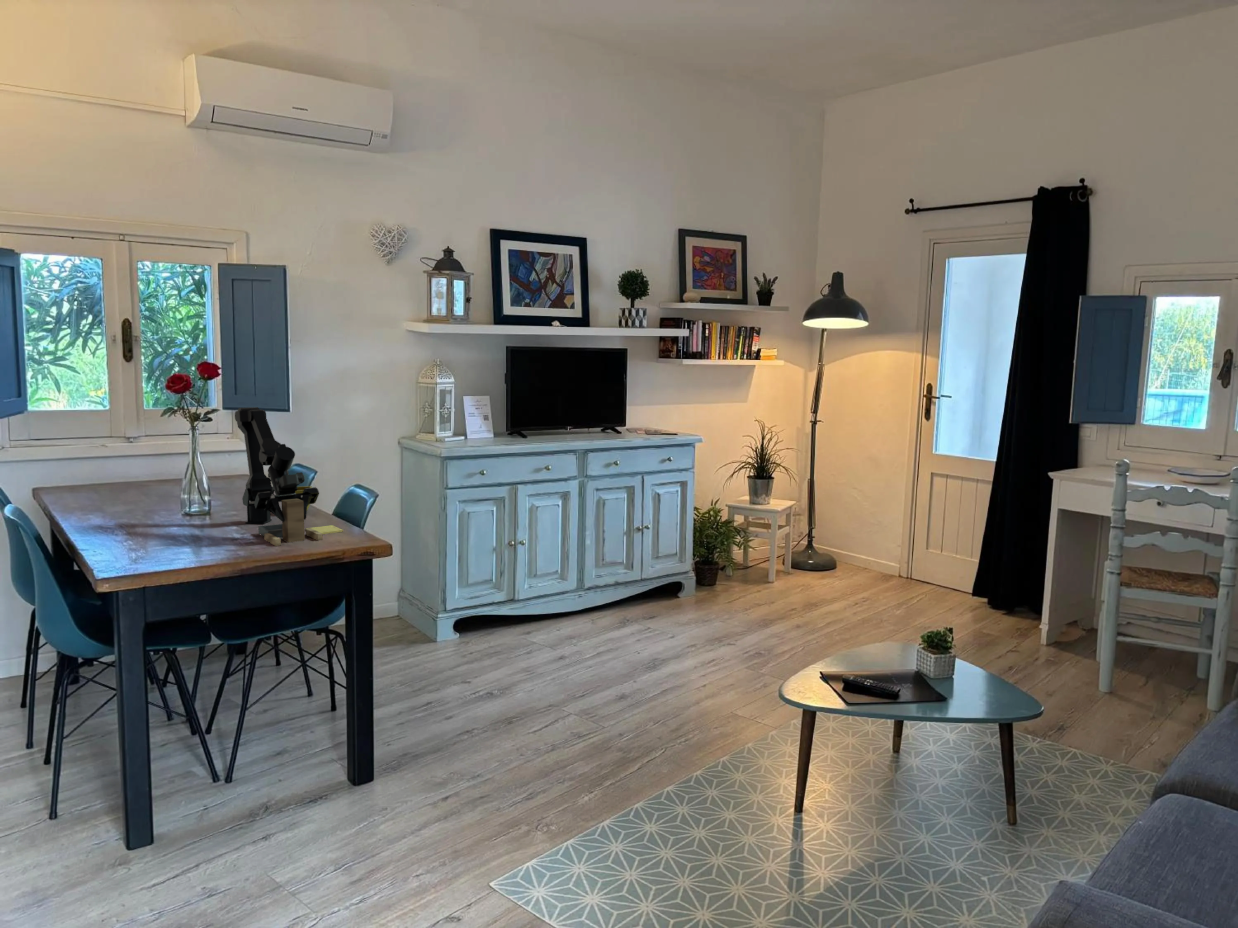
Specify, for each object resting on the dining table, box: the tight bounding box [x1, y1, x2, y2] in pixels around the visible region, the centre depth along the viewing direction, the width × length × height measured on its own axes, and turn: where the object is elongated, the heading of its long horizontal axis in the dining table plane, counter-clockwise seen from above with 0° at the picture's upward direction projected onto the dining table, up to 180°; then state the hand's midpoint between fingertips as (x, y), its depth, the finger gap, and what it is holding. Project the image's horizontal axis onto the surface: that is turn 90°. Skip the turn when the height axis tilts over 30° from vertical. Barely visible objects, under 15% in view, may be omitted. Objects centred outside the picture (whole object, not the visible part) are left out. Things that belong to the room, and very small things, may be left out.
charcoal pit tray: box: [257, 523, 283, 538], centre depth 286 cm, size 9×9×2 cm
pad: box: [304, 524, 344, 535], centre depth 293 cm, size 9×9×1 cm
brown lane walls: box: [263, 527, 324, 547], centre depth 279 cm, size 10×14×2 cm
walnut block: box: [280, 499, 306, 543], centre depth 279 cm, size 5×5×12 cm
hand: (294, 519), depth 277 cm, fingers open, 6 cm apart
